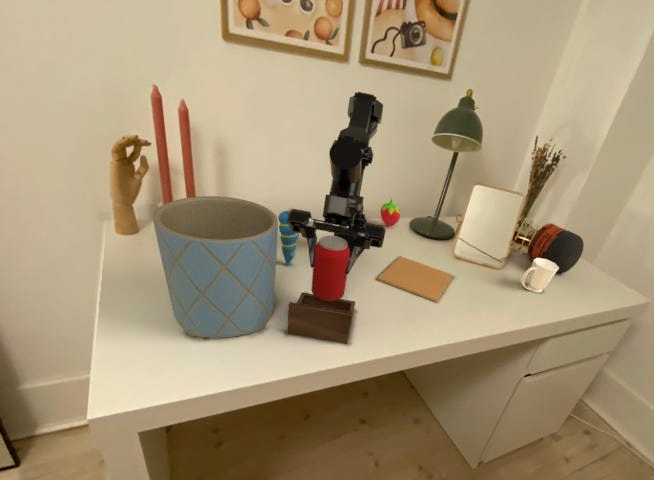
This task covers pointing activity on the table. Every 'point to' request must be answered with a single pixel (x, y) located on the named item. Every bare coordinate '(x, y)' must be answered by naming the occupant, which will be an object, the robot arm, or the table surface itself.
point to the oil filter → (556, 247)
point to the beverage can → (330, 268)
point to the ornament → (287, 237)
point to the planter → (218, 263)
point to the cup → (539, 274)
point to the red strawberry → (390, 213)
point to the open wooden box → (320, 318)
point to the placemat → (416, 278)
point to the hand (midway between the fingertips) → (329, 270)
